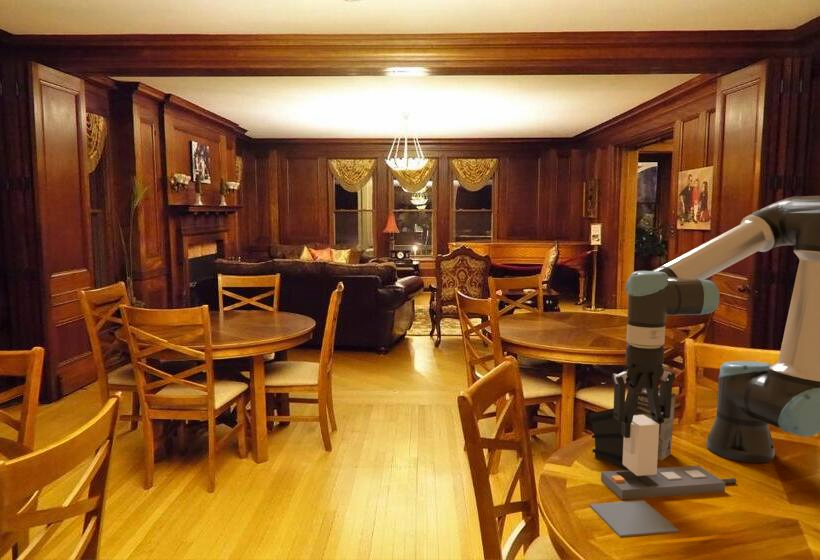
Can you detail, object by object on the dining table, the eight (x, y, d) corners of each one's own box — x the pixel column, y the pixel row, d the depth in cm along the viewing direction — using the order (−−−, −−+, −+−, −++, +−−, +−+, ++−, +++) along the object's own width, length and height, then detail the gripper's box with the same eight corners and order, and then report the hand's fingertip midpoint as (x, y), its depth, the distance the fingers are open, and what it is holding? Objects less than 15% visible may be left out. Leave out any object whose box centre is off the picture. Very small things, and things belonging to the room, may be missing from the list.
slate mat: (643, 503, 125) (643, 500, 125) (678, 534, 114) (679, 530, 114) (589, 507, 123) (589, 504, 123) (619, 539, 111) (620, 535, 111)
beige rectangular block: (641, 462, 134) (643, 414, 133) (656, 474, 129) (659, 424, 127) (622, 464, 134) (624, 415, 132) (637, 475, 128) (639, 425, 127)
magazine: (642, 473, 136) (622, 406, 140) (599, 477, 147) (581, 415, 151) (653, 469, 138) (632, 404, 142) (609, 474, 149) (591, 413, 153)
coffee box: (625, 451, 153) (628, 389, 151) (636, 445, 157) (640, 384, 155) (661, 462, 146) (666, 398, 144) (672, 455, 151) (676, 392, 149)
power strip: (721, 474, 140) (722, 461, 140) (749, 491, 131) (750, 478, 131) (600, 482, 135) (601, 469, 135) (621, 501, 126) (622, 487, 126)
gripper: (615, 350, 123) (611, 460, 125) (694, 346, 126) (687, 454, 129) (598, 342, 130) (593, 446, 133) (672, 339, 133) (666, 441, 136)
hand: (640, 450), depth 131 cm, fingers closed on beige rectangular block, 4 cm apart
